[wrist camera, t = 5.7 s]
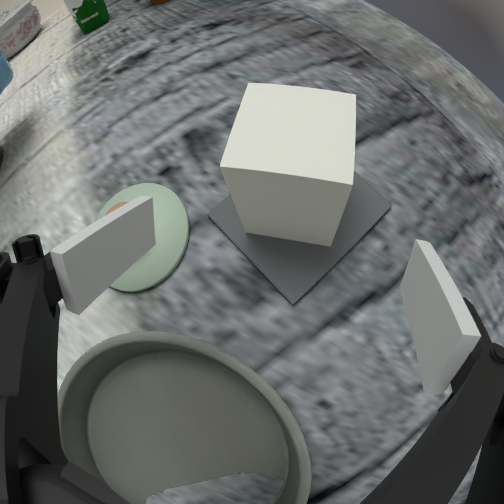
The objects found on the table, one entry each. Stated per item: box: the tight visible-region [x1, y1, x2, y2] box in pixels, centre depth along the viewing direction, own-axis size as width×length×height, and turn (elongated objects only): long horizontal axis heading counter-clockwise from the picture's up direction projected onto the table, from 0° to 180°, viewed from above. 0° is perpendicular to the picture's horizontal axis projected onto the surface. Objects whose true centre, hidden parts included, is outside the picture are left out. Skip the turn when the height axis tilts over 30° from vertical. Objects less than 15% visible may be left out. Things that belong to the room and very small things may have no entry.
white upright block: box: [220, 83, 356, 247], centre depth 23 cm, size 8×8×11 cm
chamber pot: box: [0, 0, 41, 59], centre depth 56 cm, size 28×28×21 cm
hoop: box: [57, 331, 312, 504], centre depth 21 cm, size 25×25×4 cm
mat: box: [207, 172, 392, 305], centre depth 28 cm, size 14×12×1 cm
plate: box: [95, 183, 190, 292], centre depth 30 cm, size 12×12×1 cm
